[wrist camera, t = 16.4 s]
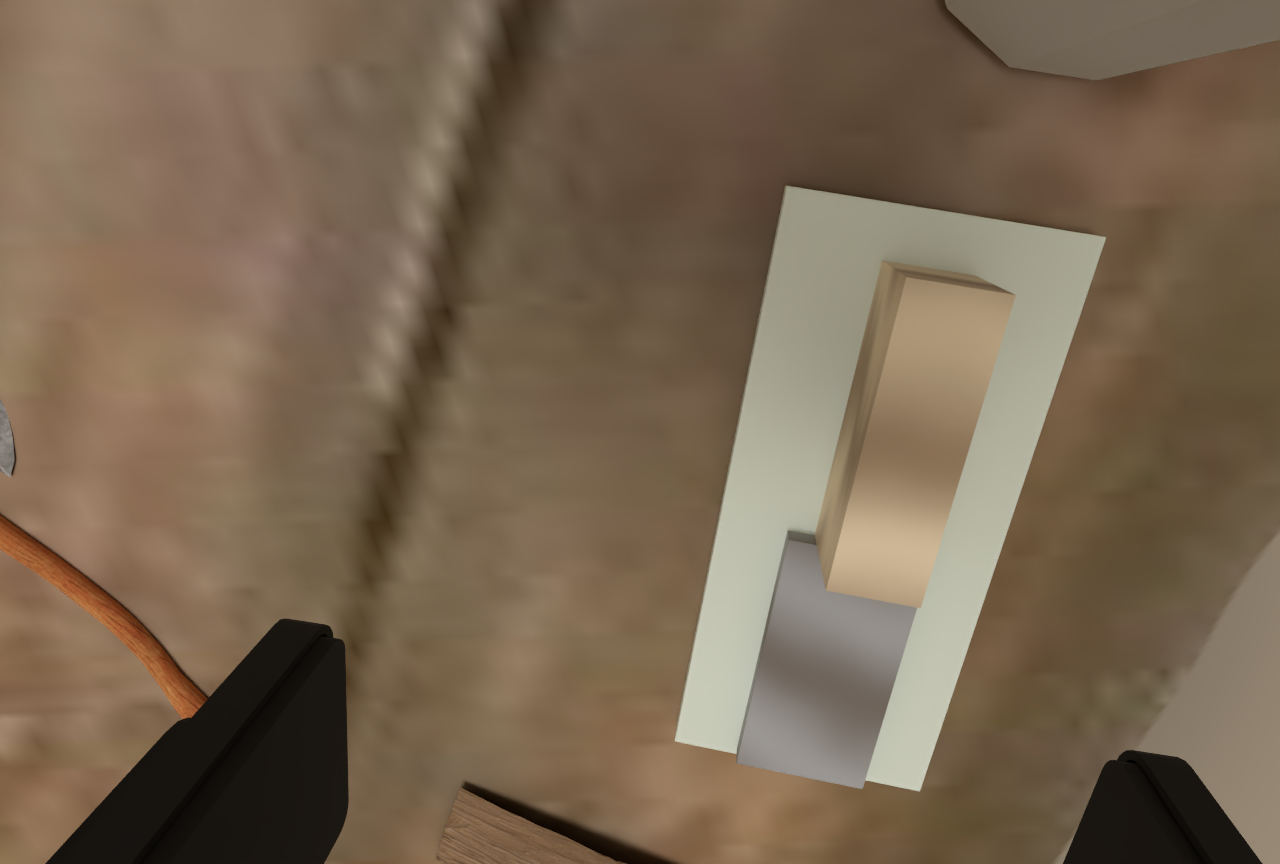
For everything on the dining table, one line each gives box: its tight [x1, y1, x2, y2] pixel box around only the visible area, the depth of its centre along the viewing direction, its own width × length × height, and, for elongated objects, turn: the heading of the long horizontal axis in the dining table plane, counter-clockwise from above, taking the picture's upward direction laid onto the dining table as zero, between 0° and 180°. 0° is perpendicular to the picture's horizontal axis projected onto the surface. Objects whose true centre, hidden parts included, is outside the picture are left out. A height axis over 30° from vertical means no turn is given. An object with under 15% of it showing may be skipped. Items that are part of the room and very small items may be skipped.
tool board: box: [675, 185, 1106, 791], centre depth 29 cm, size 22×10×1 cm, turn 171°
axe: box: [0, 400, 208, 719], centre depth 34 cm, size 22×6×2 cm, turn 42°
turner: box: [737, 260, 1016, 789], centre depth 27 cm, size 20×5×4 cm, turn 171°
